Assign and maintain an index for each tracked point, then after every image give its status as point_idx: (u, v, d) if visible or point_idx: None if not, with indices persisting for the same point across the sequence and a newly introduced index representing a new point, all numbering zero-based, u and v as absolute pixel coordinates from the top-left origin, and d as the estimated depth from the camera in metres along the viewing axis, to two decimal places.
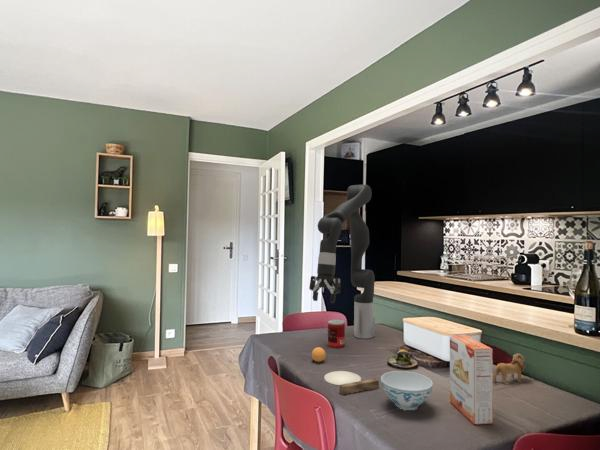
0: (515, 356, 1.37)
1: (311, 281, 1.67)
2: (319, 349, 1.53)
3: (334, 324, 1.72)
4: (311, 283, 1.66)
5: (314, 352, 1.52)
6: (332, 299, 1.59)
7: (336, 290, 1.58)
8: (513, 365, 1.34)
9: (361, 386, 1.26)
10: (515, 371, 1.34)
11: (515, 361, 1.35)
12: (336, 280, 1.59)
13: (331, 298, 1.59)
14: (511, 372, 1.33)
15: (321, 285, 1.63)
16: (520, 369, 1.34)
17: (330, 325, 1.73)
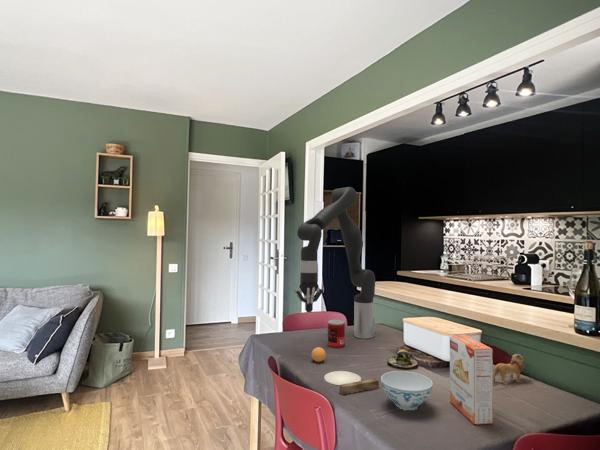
0: (514, 356, 1.36)
1: (300, 295, 1.60)
2: (319, 349, 1.53)
3: (334, 324, 1.72)
4: (301, 296, 1.61)
5: (314, 352, 1.52)
6: None
7: (316, 299, 1.63)
8: (511, 365, 1.34)
9: (361, 386, 1.26)
10: (514, 371, 1.33)
11: (514, 361, 1.34)
12: (321, 291, 1.64)
13: (311, 307, 1.62)
14: (510, 372, 1.33)
15: (310, 291, 1.62)
16: (519, 369, 1.34)
17: (330, 325, 1.73)
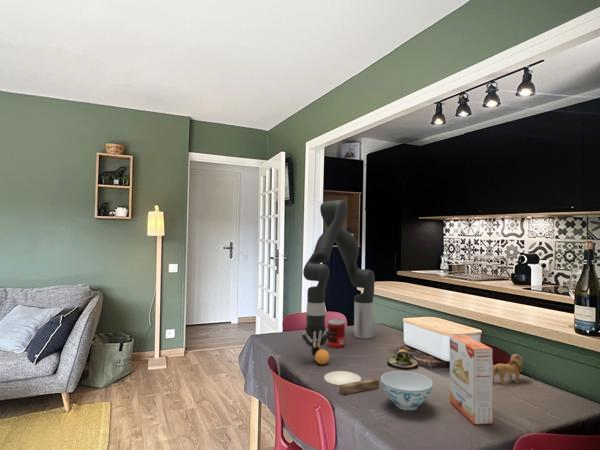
0: (513, 356, 1.36)
1: (306, 339, 1.52)
2: (324, 356, 1.49)
3: (334, 324, 1.72)
4: (307, 340, 1.52)
5: (318, 357, 1.49)
6: None
7: (323, 343, 1.55)
8: (510, 365, 1.33)
9: (361, 386, 1.26)
10: (513, 372, 1.33)
11: (513, 361, 1.34)
12: (328, 334, 1.56)
13: None
14: (509, 373, 1.33)
15: (317, 335, 1.54)
16: (518, 369, 1.33)
17: (330, 325, 1.73)
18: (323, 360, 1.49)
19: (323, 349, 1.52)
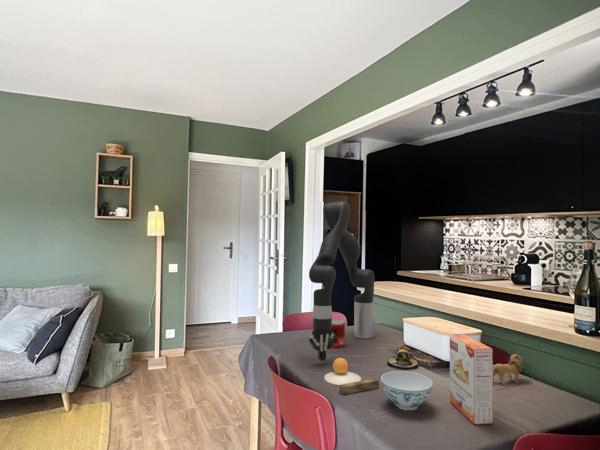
0: (512, 357, 1.36)
1: (313, 343, 1.49)
2: None
3: (334, 324, 1.72)
4: (314, 344, 1.49)
5: (333, 364, 1.41)
6: (324, 356, 1.51)
7: (330, 346, 1.52)
8: (510, 365, 1.33)
9: (361, 386, 1.26)
10: (512, 372, 1.33)
11: (512, 362, 1.34)
12: (335, 337, 1.53)
13: (324, 355, 1.51)
14: (508, 373, 1.33)
15: (324, 338, 1.51)
16: (518, 370, 1.33)
17: None
18: (336, 359, 1.42)
19: None
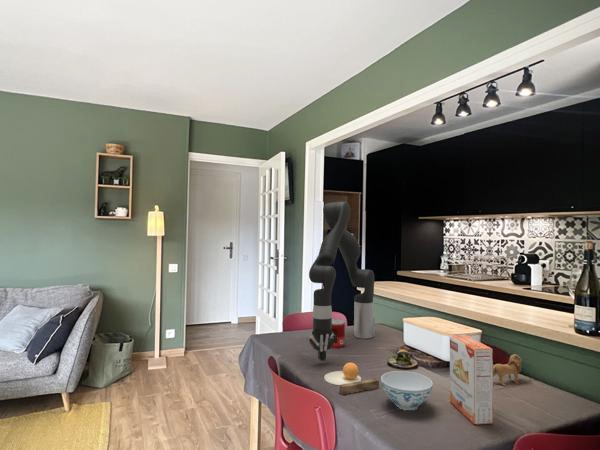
0: (512, 357, 1.36)
1: (313, 343, 1.49)
2: (353, 370, 1.34)
3: (334, 324, 1.72)
4: (314, 344, 1.49)
5: (347, 371, 1.34)
6: (324, 356, 1.51)
7: (330, 346, 1.52)
8: (509, 366, 1.33)
9: (361, 386, 1.26)
10: (512, 372, 1.33)
11: (512, 362, 1.34)
12: (335, 337, 1.53)
13: (324, 355, 1.51)
14: (508, 373, 1.33)
15: (324, 338, 1.51)
16: (517, 370, 1.33)
17: None
18: (353, 374, 1.34)
19: None
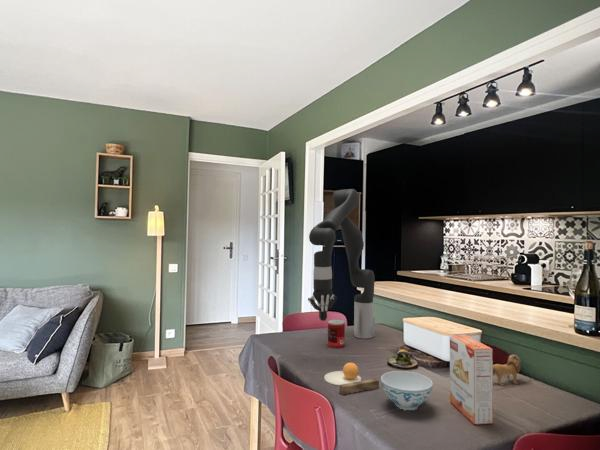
0: (511, 357, 1.36)
1: (314, 303, 1.52)
2: (354, 370, 1.34)
3: (334, 324, 1.72)
4: (315, 304, 1.52)
5: (347, 371, 1.34)
6: (325, 316, 1.55)
7: (330, 307, 1.55)
8: (508, 366, 1.33)
9: (361, 386, 1.26)
10: (510, 372, 1.33)
11: (510, 362, 1.34)
12: (336, 298, 1.56)
13: (325, 315, 1.54)
14: (506, 373, 1.32)
15: (324, 299, 1.54)
16: (516, 370, 1.33)
17: (330, 325, 1.73)
18: (353, 374, 1.34)
19: None
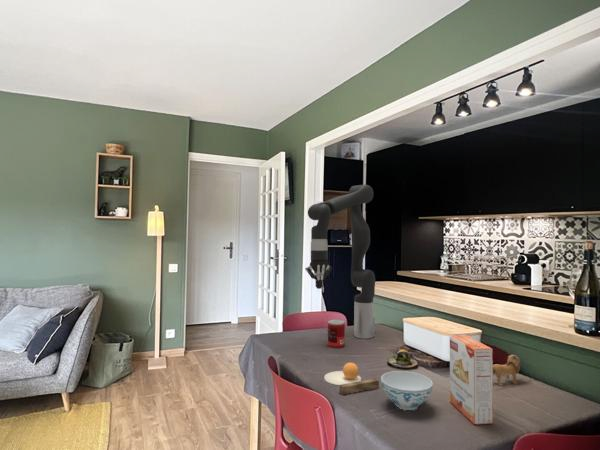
0: (510, 357, 1.36)
1: (311, 272, 1.67)
2: (354, 370, 1.34)
3: (334, 324, 1.72)
4: (312, 273, 1.68)
5: (347, 371, 1.34)
6: None
7: (326, 276, 1.70)
8: (507, 366, 1.33)
9: (361, 386, 1.26)
10: (510, 372, 1.32)
11: (510, 362, 1.34)
12: (331, 269, 1.71)
13: (321, 284, 1.69)
14: (506, 373, 1.32)
15: (320, 269, 1.69)
16: (515, 370, 1.33)
17: (330, 325, 1.73)
18: (353, 374, 1.34)
19: None
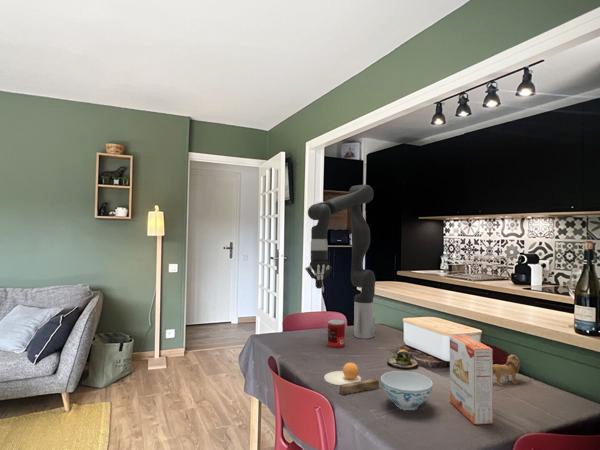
0: (510, 357, 1.35)
1: (311, 272, 1.67)
2: (354, 370, 1.34)
3: (334, 324, 1.72)
4: (312, 273, 1.68)
5: (347, 371, 1.34)
6: None
7: (326, 276, 1.70)
8: (507, 366, 1.33)
9: (361, 386, 1.26)
10: (509, 372, 1.32)
11: (509, 362, 1.33)
12: (331, 268, 1.71)
13: (321, 284, 1.69)
14: (505, 373, 1.32)
15: (320, 269, 1.69)
16: (515, 370, 1.33)
17: (330, 325, 1.73)
18: (353, 374, 1.34)
19: None
